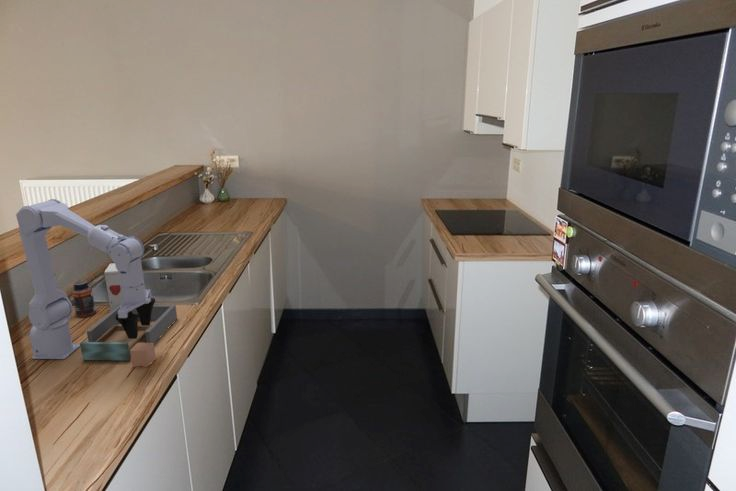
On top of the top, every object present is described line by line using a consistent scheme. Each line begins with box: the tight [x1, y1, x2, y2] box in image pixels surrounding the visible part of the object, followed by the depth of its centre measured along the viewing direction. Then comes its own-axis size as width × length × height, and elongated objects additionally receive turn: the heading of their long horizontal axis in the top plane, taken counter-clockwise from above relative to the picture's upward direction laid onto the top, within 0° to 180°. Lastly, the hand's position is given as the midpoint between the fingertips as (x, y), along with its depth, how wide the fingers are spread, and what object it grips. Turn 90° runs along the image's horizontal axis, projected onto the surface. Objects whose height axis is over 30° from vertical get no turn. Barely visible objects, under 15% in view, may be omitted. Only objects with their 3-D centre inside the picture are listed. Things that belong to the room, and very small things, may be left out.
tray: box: [79, 324, 153, 362], centre depth 152 cm, size 13×17×5 cm
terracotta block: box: [130, 342, 157, 368], centre depth 143 cm, size 4×4×5 cm
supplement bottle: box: [71, 280, 97, 318], centre depth 173 cm, size 6×6×11 cm
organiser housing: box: [86, 304, 178, 344], centre depth 160 cm, size 18×19×5 cm
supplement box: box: [103, 262, 123, 312], centre depth 177 cm, size 9×9×15 cm
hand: (139, 331), depth 141 cm, fingers open, 7 cm apart
